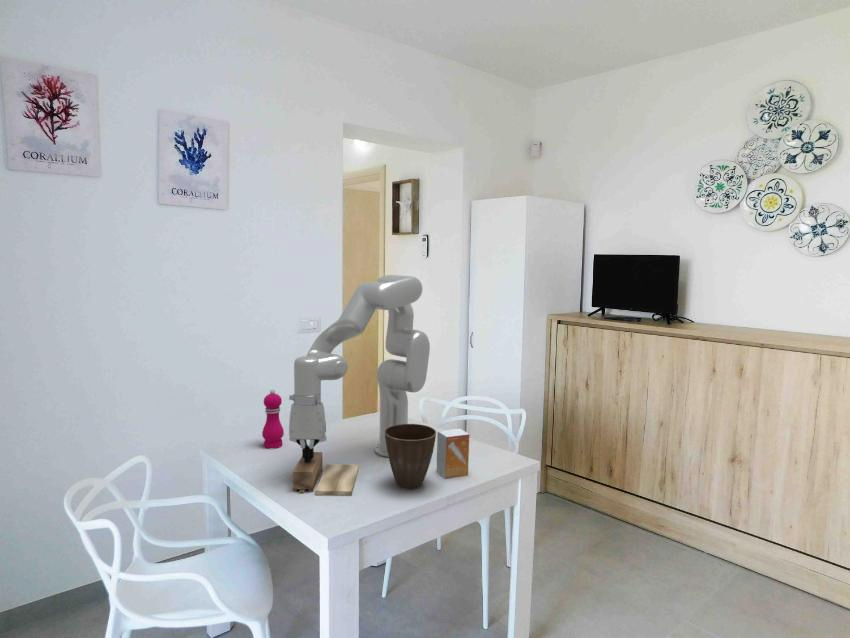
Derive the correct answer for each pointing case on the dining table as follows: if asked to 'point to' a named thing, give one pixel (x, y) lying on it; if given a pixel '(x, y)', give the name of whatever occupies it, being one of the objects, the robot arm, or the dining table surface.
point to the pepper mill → (272, 421)
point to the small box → (452, 453)
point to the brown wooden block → (307, 473)
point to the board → (337, 480)
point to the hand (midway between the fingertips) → (308, 460)
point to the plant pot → (410, 453)
